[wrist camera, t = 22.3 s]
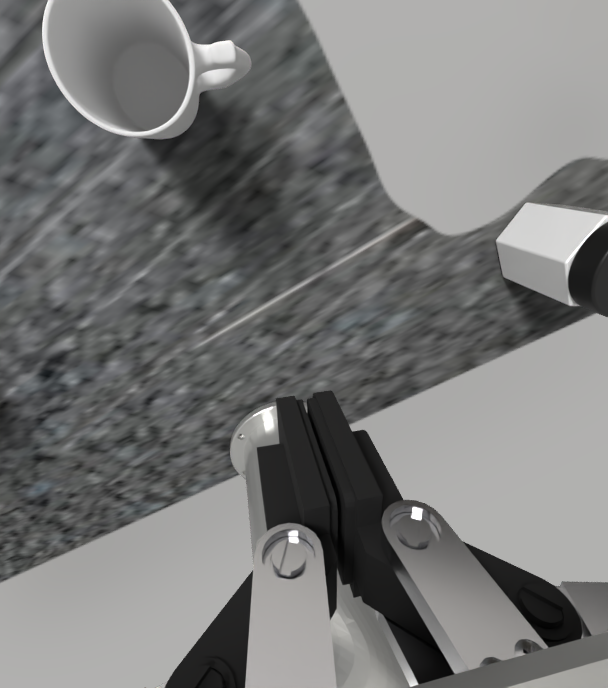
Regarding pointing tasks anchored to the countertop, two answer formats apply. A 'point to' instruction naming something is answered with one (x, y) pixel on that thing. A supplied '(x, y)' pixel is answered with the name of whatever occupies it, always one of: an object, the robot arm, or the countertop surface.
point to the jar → (558, 253)
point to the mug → (134, 64)
